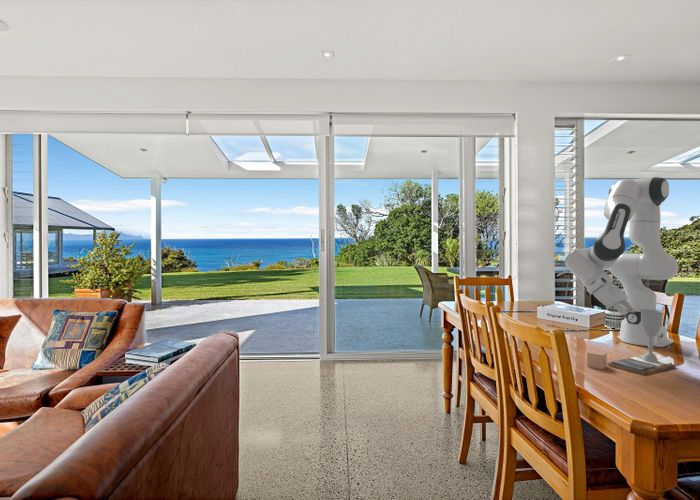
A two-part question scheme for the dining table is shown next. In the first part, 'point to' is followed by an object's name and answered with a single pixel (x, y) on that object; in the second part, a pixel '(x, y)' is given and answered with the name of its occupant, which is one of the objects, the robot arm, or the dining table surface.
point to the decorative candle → (614, 311)
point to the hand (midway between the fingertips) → (629, 312)
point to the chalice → (651, 330)
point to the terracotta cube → (597, 359)
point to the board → (641, 365)
